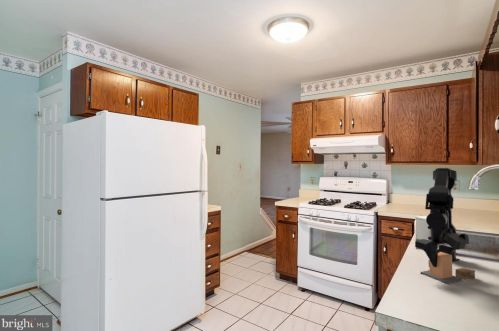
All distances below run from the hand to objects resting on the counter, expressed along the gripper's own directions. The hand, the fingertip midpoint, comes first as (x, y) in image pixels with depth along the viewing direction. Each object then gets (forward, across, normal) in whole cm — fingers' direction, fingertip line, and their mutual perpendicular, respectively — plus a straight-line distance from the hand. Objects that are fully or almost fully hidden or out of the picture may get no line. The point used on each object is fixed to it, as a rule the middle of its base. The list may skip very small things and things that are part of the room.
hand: (440, 265), depth 101 cm
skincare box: (+4, +30, +29) cm, 42 cm away
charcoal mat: (+4, 0, 0) cm, 4 cm away
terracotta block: (+4, 0, 0) cm, 4 cm away
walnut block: (+4, +8, -4) cm, 10 cm away
